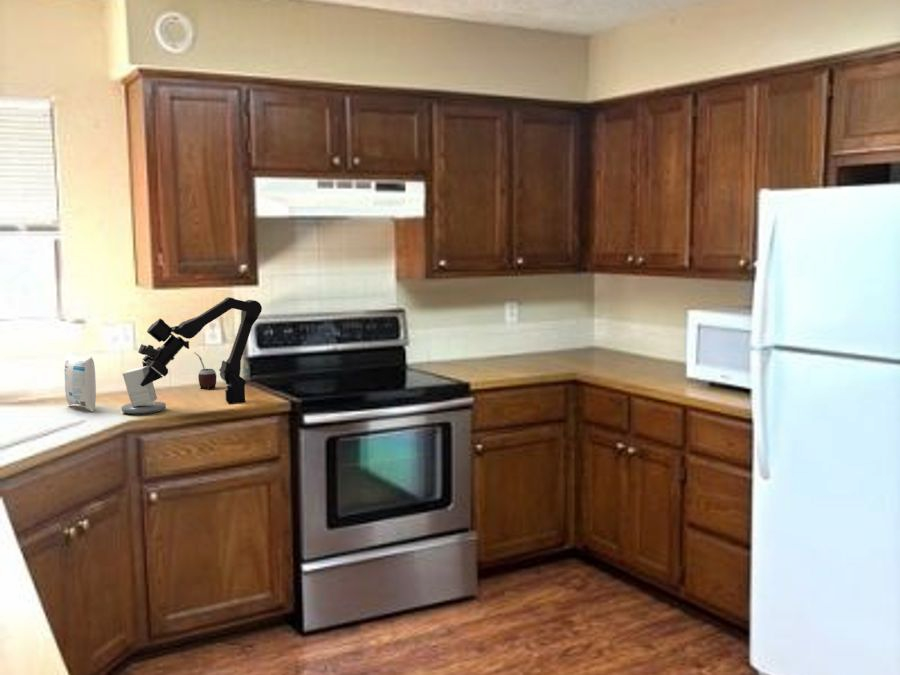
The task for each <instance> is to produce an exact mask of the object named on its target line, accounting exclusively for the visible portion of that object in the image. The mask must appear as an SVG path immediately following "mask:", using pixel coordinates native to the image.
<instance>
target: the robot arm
mask: <svg viewBox="0 0 900 675" xmlns="http://www.w3.org/2000/svg"><path fill="white" fill-rule="evenodd" d="M232 309H233V310H238V311H241V312H240V325H239V328H238V330H237V334H236V336H235V339H234V342H233V344H232V348H231V351H230V354H229V356H228V358H227V359H226V361H225V360H222V361H221V366H220V368H219V370H218V371H219V376H220V378H221V379H222V381H224V382H225V384H226V389H225V390H224V393H225V394H224V395H225V396H224V397H225V401H226V403H227V404H229V405H230V404H243V403H247V400H246V383H247V381H246V380H245V379H244V378H243V377H242V376H241V369H242V367H241V364H242V363H241V362H242V359H243V355H244V353H245V349H246V347H247V346H246V345H247V342H248V340H249V337H250V334H251V331H252V328H253V325H254V324H255V322H256V321H257V320H258V318H259V317H260V315H261V312H262V310H263V308H262V305H261V303H260V302H259V301H257V300H254V299H247V300H239V299H236V298H234V297H230V296H229V297H228V296H227V297H225V298H224V299H223V300H222V301H219V303H217V304H215V305H214V306H212V307H211V308H209V309H207V310H206V311H204V312H202V313H201V314H200V315H198V316H196V317H193V318H189V319H187V320H185V321H184V320H183V321H182V322H181V323H179V324H178V325H176V326H170V325H169V324H167V323H166V322H165V321H164V319H162V318H158V320H156V321H155V322H154V323H152V324H151V325H150V326H149V328H148V329H146V330H147V331H146V333H147V334H148V335H150V336H151V337H152V338H153V339H155V340H156V341H157V342H158V343H161V342H163V345H161V346H159V347H156V348H154V345H151V344H147V345H145V344H142V343H141V344H140V346H139V349H138V351H137V353H139V354H140V355H144V357H143V358H142V361H141V364H142V367H145V366H148V368H149V372H148V373H147V375H146V376H145V378H144V379H143V381H142V383H141V384H140V385H141V386H145V385H147V384H149V383H151V382H153V383H154V382H155V381H157V380H159V379H162V378H163V377H166V376H167V375H168V374H169V368H167V366H168V364H169V363H170V362H171V361H174V360H175V356H176V355H177V354H179V352H180V351H181V350H182V349H183V348H185V349H187V350H189V349H190V341H188V340H190V339H192V338H194V337H196V336H197V335H198V334H199V333H200V332H201V331H202V329H203V328H204V327H205V326H207V325H208V324H209V323H211V322H213V321H214V320H216V319H217V318H219V317H221V316H223V315H224V314H225V313H227V312H229V311H230V310H232ZM174 334H175V335H178V336H175V335H174ZM183 338H184V339H188V340H184V339H183Z"/></svg>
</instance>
